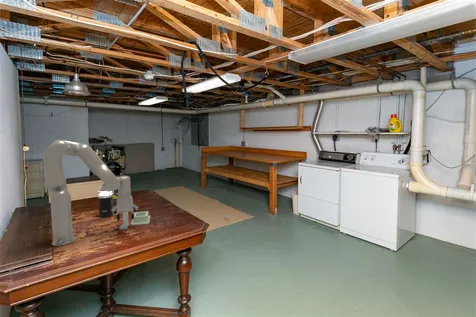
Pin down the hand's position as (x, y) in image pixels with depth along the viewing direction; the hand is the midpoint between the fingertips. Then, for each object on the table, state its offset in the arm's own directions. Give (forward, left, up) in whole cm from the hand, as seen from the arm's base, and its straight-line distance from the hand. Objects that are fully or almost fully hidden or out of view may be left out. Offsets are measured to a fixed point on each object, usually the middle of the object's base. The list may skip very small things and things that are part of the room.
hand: (125, 219), depth 169 cm
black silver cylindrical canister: (+30, +18, -6) cm, 36 cm away
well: (+11, -9, -6) cm, 15 cm away
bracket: (0, +1, -6) cm, 6 cm away
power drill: (+69, +15, -6) cm, 71 cm away
